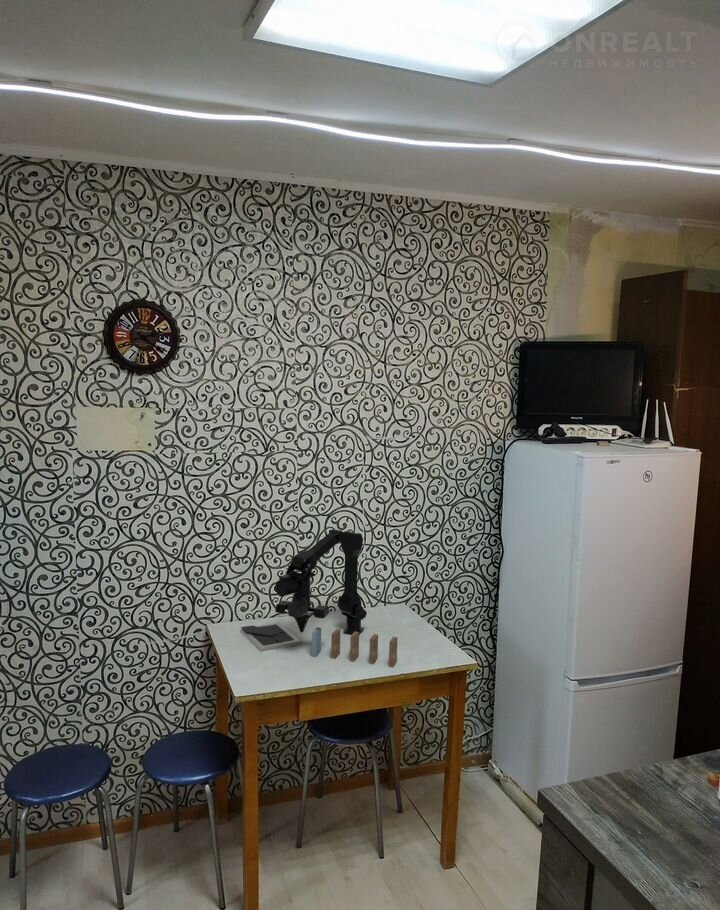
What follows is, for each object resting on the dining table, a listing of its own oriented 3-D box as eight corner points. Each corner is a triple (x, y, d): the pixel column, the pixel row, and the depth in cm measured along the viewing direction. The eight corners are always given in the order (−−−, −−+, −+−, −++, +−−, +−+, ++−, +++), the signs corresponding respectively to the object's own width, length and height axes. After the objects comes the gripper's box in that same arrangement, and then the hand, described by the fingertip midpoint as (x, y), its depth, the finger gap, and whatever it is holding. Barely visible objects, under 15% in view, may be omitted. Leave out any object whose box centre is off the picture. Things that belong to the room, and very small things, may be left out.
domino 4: (369, 664, 244) (369, 639, 243) (373, 658, 249) (373, 633, 248) (373, 664, 244) (374, 639, 243) (377, 659, 249) (378, 634, 248)
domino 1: (311, 656, 250) (312, 632, 249) (316, 651, 254) (317, 627, 253) (316, 657, 249) (316, 632, 248) (320, 651, 254) (321, 627, 253)
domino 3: (350, 661, 246) (350, 636, 245) (354, 655, 251) (354, 631, 250) (354, 661, 246) (354, 637, 245) (358, 656, 251) (359, 632, 250)
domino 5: (388, 666, 242) (389, 641, 241) (392, 661, 247) (393, 636, 246) (393, 667, 242) (393, 642, 241) (396, 661, 247) (397, 637, 245)
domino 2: (331, 658, 248) (331, 633, 247) (335, 652, 253) (336, 628, 252) (335, 659, 248) (335, 634, 247) (340, 653, 253) (340, 629, 252)
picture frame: (240, 634, 271) (260, 653, 253) (240, 627, 271) (260, 646, 253) (278, 627, 279) (300, 646, 261) (278, 620, 278) (300, 638, 260)
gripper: (268, 594, 247) (268, 636, 249) (318, 600, 241) (318, 643, 243) (281, 584, 257) (281, 626, 259) (329, 590, 252) (329, 632, 254)
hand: (302, 632), depth 254 cm, fingers closed
